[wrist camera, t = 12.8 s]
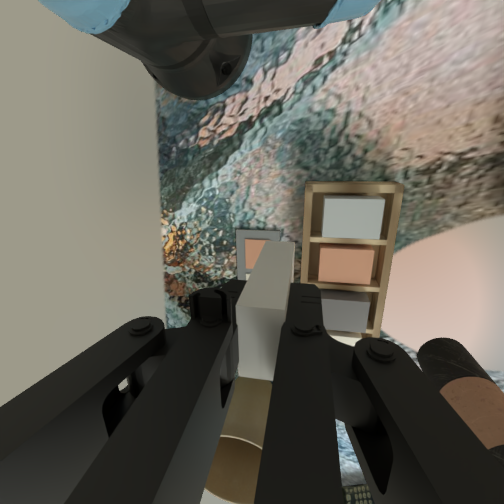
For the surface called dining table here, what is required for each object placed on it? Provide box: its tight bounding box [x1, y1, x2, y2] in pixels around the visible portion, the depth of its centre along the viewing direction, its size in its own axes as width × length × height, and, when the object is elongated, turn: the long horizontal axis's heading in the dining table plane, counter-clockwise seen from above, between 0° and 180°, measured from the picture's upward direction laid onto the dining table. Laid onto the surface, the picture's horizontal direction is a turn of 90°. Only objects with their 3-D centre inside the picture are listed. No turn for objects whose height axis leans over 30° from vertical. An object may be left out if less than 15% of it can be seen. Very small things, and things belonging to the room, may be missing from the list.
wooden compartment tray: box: [300, 181, 405, 338], centre depth 42 cm, size 12×29×4 cm, turn 1°
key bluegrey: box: [321, 195, 385, 239], centre depth 36 cm, size 7×5×3 cm
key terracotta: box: [318, 242, 375, 284], centre depth 40 cm, size 7×5×3 cm
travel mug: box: [417, 338, 504, 468], centre depth 36 cm, size 8×8×20 cm
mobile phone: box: [342, 484, 375, 504], centre depth 58 cm, size 5×3×15 cm
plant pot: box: [204, 376, 272, 504], centre depth 48 cm, size 15×15×16 cm
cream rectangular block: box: [326, 329, 362, 346], centre depth 45 cm, size 7×5×3 cm
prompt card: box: [236, 229, 280, 280], centre depth 46 cm, size 7×14×1 cm, turn 1°
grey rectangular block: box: [320, 289, 370, 333], centre depth 41 cm, size 7×5×3 cm
